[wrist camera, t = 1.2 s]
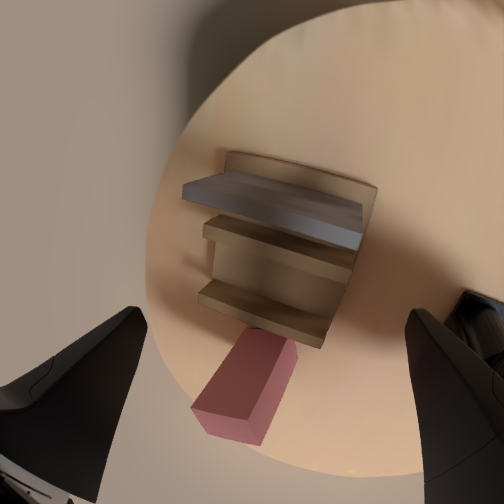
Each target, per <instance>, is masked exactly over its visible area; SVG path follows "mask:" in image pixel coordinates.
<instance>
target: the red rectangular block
mask: <svg viewBox="0 0 504 504" xmlns="http://www.w3.org/2000/svg"><path fill="white" fill-rule="evenodd" d="M297 359H298V357H297V352H296V348H295V343H294V340H291V339H289V338H286V337H283V336H280V335H278V334H275V333H272V332H269V331H267V330H264V329H245V330H244V332H243V333H242V335H241V336H240V338H239V339H238V341H237V342H236V343H235V345H234V346H233V348H232V349H231V351H230V352H229V354H228V355H227V357H226V358H225V360H224V361H223V362H222V364H221V365H220V367H219V368H218V370H217V371H216V372H215V374H214V375H213V377H212V378H211V380H210V381H209V382H208V384H207V385H206V387H205V388H204V389H203V391H202V392H201V394H200V395H199V396H198V398H197V399H196V401H195V402H194V403H193V405H192V406H191V409H192V411H193V413H194V414H195V416H196V417H197V419H198V420H199V422H200V423H201V425H202V426H203V427H204V429H205V431H206V432H207V433H208V434H210V435H214V436H218V437H221V438H225V439H230V440H234V441H238V442H242V443H247V444H252V445H257V446H260V445H261V443H262V441H263V439H264V437H265V435H266V433H267V430H268V428H269V426H270V424H271V422H272V419H273V417H274V415H275V413H276V410H277V408H278V406H279V403H280V401H281V399H282V396H283V394H284V392H285V389H286V387H287V384H288V382H289V379H290V377H291V374H292V372H293V369H294V367H295V364H296V362H297Z"/></svg>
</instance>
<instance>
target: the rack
mask: <svg viewBox="0 0 504 504" xmlns="http://www.w3.org/2000/svg"><path fill="white" fill-rule="evenodd" d="M377 191H378V189H377V187H374V186H371V185H368V184H365V183H362V182H358V181H355V180H352V179H348V178H345V177H342V176H338V175H335V174H331V173H327V172H324V171H320V170H316V169H312V168H308V167H305V166H301V165H296V164H292V163H288V162H284V161H279V160H275V159H270V158H266V157H261V156H256V155H251V154H246V153H241V152H236V151H229V152H227V154H226V161H225V168H224V173H220V174H217V175H213V176H210V177H206V178H203V179H199V180H196V181H193V182H189V183H186V184H183V191H182V199H183V200H187V201H191V202H194V203H198V204H202V205H206V206H209V207H213V208H216V209H219V215H218V216H217V217H215V218H213V219H211V220H209V221H208V222H206V223H204V226H203V238H206V239H209V240H212V241H215V252H214V261H213V272H212V281H211V282H209V283H208V284H207V285H206V286H205V287H204V288H203V289H202V290H201V291H200V292H199V293H198V303H199V304H202V305H204V306H206V307H209V308H211V309H214V310H216V311H218V312H221V313H223V314H226V315H228V316H231V317H233V318H236V319H238V320H241V321H243V322H246V323H248V324H251V325H254V326H256V327H259V328H261V329H264V330H267V331H269V332H272V333H275V334H278V335H280V336H283V337H286V338H289V339H291V340H294V341H297V342H300V343H303V344H306V345H309V346H312V347H315V348H318V349H321V347H322V345H323V342H324V340H325V337H326V333H327V331H328V329H329V327H330V325H331V322H332V320H333V317H334V315H335V313H336V310H337V308H338V305H339V303H340V300H341V298H342V295H343V293H344V290H345V288H346V285H348V282H349V280H350V277H351V274H352V272H353V266H354V263H355V261H356V258H357V255H358V252H359V249H360V246H361V243H362V240H363V237H364V234H365V231H366V228H367V225H368V221H369V218H370V215H371V212H372V208H373V205H374V201H375V198H376V194H377Z"/></svg>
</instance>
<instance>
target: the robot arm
mask: <svg viewBox="0 0 504 504" xmlns="http://www.w3.org/2000/svg"><path fill="white" fill-rule="evenodd" d="M467 296H469V298H468V299H466V297H467ZM147 328H148V327H147V322H146V320H145V318H144V316H143V313H142V311H141V309H140V308H139V307H135V306H128V307H126V308H125V309H123V310H122V311H120V312H119V313H117V314H116V315H114V316H113V317H111V318H110V319H108V320H107V321H105V322H104V323H102V324H101V325H99V326H97V327H96V328H94V329H93V330H91V331H90V332H88V333H87V334H85V335H84V336H82V337H81V338H79V339H78V340H77V341H75V342H73V343H72V344H70V345H69V346H67V347H66V348H65V349H63V350H62V351H60V352H59V353H57V354H56V355H55V356H53V357H51V358H50V359H49V360H47V361H45V362H44V363H42V364H41V365H39V366H38V367H36V368H35V369H33V370H31V371H30V372H28V373H26V374H24V375H23V376H21V377H19V378H18V379H16V380H14V381H12V382H11V383H9V384H7V385H5V386H2V387H0V504H74V503H73V501H72V499H70V498H69V496H70V494H72V495H75V496H77V497H80V498H82V499H84V500H87V501H89V502H92V503H96V500H97V496H98V492H99V488H100V484H101V480H102V476H103V473H104V469H105V466H106V462H107V460H106V459H107V457H108V454H109V450H110V448H111V444H112V441H113V438H114V434H115V431H116V428H117V425H118V421H119V418H120V415H121V412H122V409H123V406H124V403H125V400H126V397H127V395H128V392H129V389H130V386H131V383H132V380H133V377H134V375H135V372H136V369H137V366H138V363H139V359H140V356H141V351H142V348H143V343H144V340H145V337H146V333H147ZM405 340H406V347H407V355H408V363H409V372H410V378H411V383H412V388H413V393H414V399H415V404H416V410H417V417H418V423H419V430H420V438H421V447H422V457H423V470H424V483H425V484H424V490H425V491H424V496H425V504H504V304H502V303H500V302H497V301H495V300H492V299H490V298H487V297H484V296H482V295H479V294H477V293H474V292H471V291H465V292H464V293H463V294H462V296H461V298H460V300H459V302H458V304H457V305H456V307H455V309H454V311H453V312H452V313H451V314H450V316H449V317H448V319H447V321H446V322H445V324H444V325H443V324H442V323H441V322H440V321H439V320H437V319H436V318H435V317H434V316H433V315H432V314H430V313H429V312H428V311H427V310H426V309H424V308H414V309H412V310H411V312H410V314H409V317H408V320H407V323H406V326H405Z"/></svg>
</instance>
